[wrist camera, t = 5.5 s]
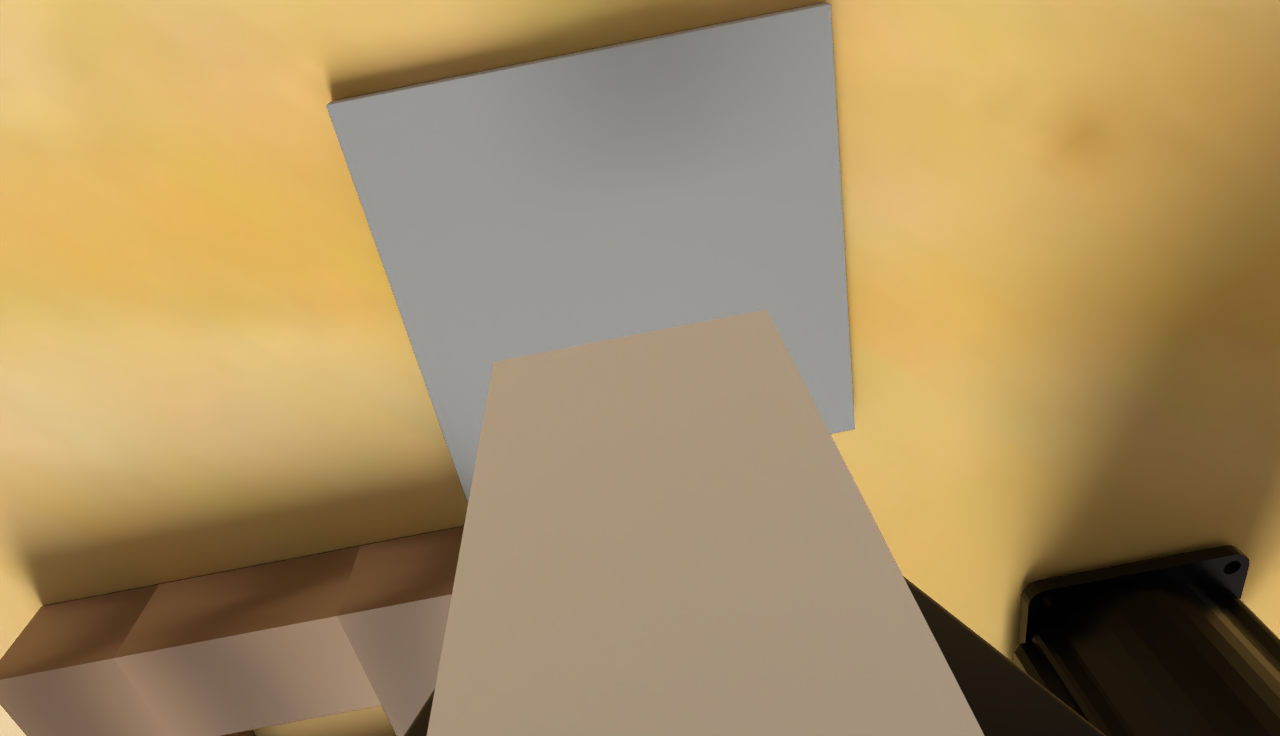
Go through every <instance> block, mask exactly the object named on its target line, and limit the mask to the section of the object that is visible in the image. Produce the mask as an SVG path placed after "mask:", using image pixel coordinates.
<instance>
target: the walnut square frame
mask: <svg viewBox="0 0 1280 736" xmlns="http://www.w3.org/2000/svg"><path fill="white" fill-rule="evenodd" d="M463 530H464V526H462V527H457V528H452V529H447V530H442V531H436V532H431V533H426V534H421V535H415V536H410V537H405V538H400V539H394V540H389V541H384V542H379V543H373V544H368V545H363V546H358V547H352V548H347V549H342V550H337V551H331V552H326V553H321V554H316V555H311V556H305V557H300V558H295V559H290V560H284V561H279V562H274V563H269V564H263V565H258V566H253V567H248V568H242V569H237V570H232V571H227V572H221V573H216V574H211V575H206V576H200V577H195V578H190V579H185V580H179V581H174V582H169V583H164V584H159V585H153V586H148V587H143V588H138V589H132V590H127V591H122V592H117V593H111V594H106V595H101V596H96V597H90V598H85V599H80V600H75V601H69V602H64V603H59V604H54V605H48V606H43V607H41V608H40V609H39V610H38V612H37V613H36V614H35V616H34V617H33V618H32V620H31V621H30V622H29V623H28V625H27V626H26V627H25V629H24V630H23V631H22V633H21V634H20V635H19V636H18V638H17V639H16V640H15V642H14V643H13V644H12V645H11V647H10V648H9V649H8V651H7V652H6V653H5V655H4V656H3V657H2V658H1V660H0V705H1V706H2V707H3V708H4V709H5V711H6V712H7V713H8V714H9V715H10V717H11V718H12V719H13V720H14V721H15V722H16V724H17V725H18V726H19V727H20V728H21V730H22V731H23V732H24V733H25V734H26V735H27V736H255V735H254V734H253V732H252V730H253V729H258V728H264V727H269V726H274V725H280V724H285V723H290V722H296V721H301V720H306V719H312V718H317V717H322V716H328V715H333V714H338V713H344V712H349V711H354V710H360V709H365V708H370V707H376V706H381V705H382V707H383V709H384V711H385V713H386V715H387V717H388V719H389V721H390V723H391V725H392V727H393V729H394V731H395V733H396V735H397V736H404V735H405V733H406V731H407V730H408V728H409V727H410V725H411V724H412V722H413V721H414V719H415V718H416V716H417V715H418V713H419V712H420V710H421V709H422V707H423V705H424V704H425V702H426V701H427V699H428V698H429V696H430V695H431V693H432V692H433V690H434V689H435V686H436V681H437V675H438V669H439V664H440V658H441V653H442V647H443V641H444V636H445V630H446V625H447V619H448V614H449V608H450V602H451V597H452V591H453V586H454V580H455V574H456V569H457V563H458V558H459V552H460V546H461V541H462V535H463Z"/></svg>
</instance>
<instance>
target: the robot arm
mask: <svg viewBox="0 0 1280 736" xmlns="http://www.w3.org/2000/svg"><path fill="white" fill-rule="evenodd" d="M1248 567H1249V559H1248V558H1247V556H1246V555H1244V554H1243V553H1242V552H1241V551H1240V550H1239V549H1238V548H1237V547H1235V546H1232V545H1228V546H1221V547H1215V548H1210V549H1205V550H1199V551H1194V552H1189V553H1183V554H1178V555H1173V556H1167V557H1162V558H1157V559H1151V560H1146V561H1141V562H1135V563H1130V564H1125V565H1119V566H1114V567H1109V568H1103V569H1098V570H1093V571H1087V572H1082V573H1077V574H1071V575H1066V576H1061V577H1055V578H1050V579H1045V580H1039V581H1036V582H1033V583H1032V584H1030V585H1028V586H1027V587H1026V588H1025V590H1024V591H1023V594H1022V599H1021V613H1020V626H1019V640H1018V644H1017V646H1016V648H1015V650H1014V652H1013V661H1010V660H1009V659H1008V658H1007V657H1005V656H1004V655H1003V654H1002V653H1000V652H999V651H998V650H996V649H995V648H994V647H993V646H991V645H990V644H989V643H988V642H986V641H985V640H984V639H982V638H981V637H980V636H979V635H977V634H976V633H975V632H974V631H972V630H971V629H970V628H968V627H967V626H966V625H965V624H963V623H962V622H961V621H960V620H958V619H957V618H956V617H955V616H953V615H952V614H951V613H949V612H948V611H947V610H946V609H944V608H943V607H942V606H941V605H939V604H938V603H937V602H935V601H934V600H933V599H932V598H930V597H929V596H928V595H927V594H925V593H924V592H923V591H921V590H920V589H919V588H918V587H916V586H915V585H914V584H913V583H911V582H910V581H909V580H907V579H906V578H905V577H904V576H903V577H904V579H905V581H906V583H907V585H908V587H909V589H910V591H911V593H912V595H913V597H914V599H915V601H916V603H917V605H918V606H919V608H920V610H921V612H922V614H923V616H924V618H925V620H926V622H927V624H928V626H929V628H930V630H931V632H932V634H933V636H934V638H935V640H936V642H937V644H938V646H939V648H940V650H941V651H942V653H943V655H944V657H945V659H946V661H947V663H948V665H949V667H950V669H951V671H952V673H953V675H954V677H955V679H956V681H957V683H958V685H959V687H960V689H961V691H962V693H963V695H964V697H965V698H966V700H967V702H968V704H969V706H970V708H971V710H972V712H973V714H974V716H975V718H976V720H977V722H978V724H979V726H980V728H981V730H982V732H983V734H984V736H1280V639H1279V638H1278V637H1277V636H1276V635H1275V634H1274V633H1273V632H1272V631H1271V630H1270V629H1269V628H1268V627H1267V626H1266V625H1265V624H1264V623H1263V622H1262V621H1261V620H1260V619H1259V618H1258V617H1257V616H1256V615H1255V614H1254V613H1253V612H1252V611H1251V610H1250V609H1249V608H1248V607H1247V606H1246V605H1245V604H1244V603H1243V602H1242V601H1241V600H1240V599H1241V595H1242V591H1243V587H1244V583H1245V579H1246V575H1247V571H1248ZM434 692H435V689H434V690H433V692H432V693H431V695H430V696H429V698H428V699H427V701H426V702H425V704H424V705H423V707H422V709H421V710H420V712H419V713H418V715H417V716H416V718H415V719H414V721H413V722H412V724H411V725H410V727H409V728H408V730H407V731H406V733H405V735H404V736H427V731H428V725H429V720H430V714H431V709H432V703H433V697H434Z"/></svg>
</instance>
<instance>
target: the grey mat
mask: <svg viewBox="0 0 1280 736" xmlns="http://www.w3.org/2000/svg"><path fill="white" fill-rule="evenodd" d="M326 106H327V109H328V112H329V115H330V118H331V121H332V123H333V126H334V129H335V132H336V135H337V137H338V140H339V143H340V146H341V149H342V151H343V154H344V157H345V160H346V163H347V165H348V168H349V171H350V174H351V177H352V179H353V182H354V185H355V188H356V191H357V194H358V196H359V199H360V202H361V205H362V208H363V210H364V213H365V216H366V219H367V222H368V224H369V227H370V230H371V233H372V236H373V238H374V241H375V244H376V247H377V250H378V252H379V255H380V258H381V261H382V264H383V267H384V269H385V272H386V275H387V278H388V281H389V283H390V286H391V289H392V292H393V295H394V297H395V300H396V303H397V306H398V309H399V311H400V314H401V317H402V320H403V323H404V325H405V328H406V331H407V334H408V337H409V340H410V342H411V345H412V348H413V351H414V354H415V356H416V359H417V362H418V365H419V368H420V370H421V373H422V376H423V379H424V382H425V384H426V387H427V390H428V393H429V396H430V398H431V401H432V404H433V407H434V410H435V413H436V415H437V418H438V421H439V424H440V427H441V429H442V432H443V435H444V438H445V441H446V443H447V446H448V449H449V452H450V455H451V457H452V460H453V463H454V466H455V469H456V471H457V474H458V477H459V480H460V483H461V486H462V488H463V491H464V494H465V497H466V500H467V502H469V496H470V490H471V485H472V479H473V474H474V468H475V463H476V457H477V451H478V446H479V440H480V435H481V429H482V423H483V418H484V412H485V407H486V401H487V395H488V390H489V384H490V379H491V373H492V367H493V362H496V361H501V360H506V359H511V358H516V357H522V356H527V355H532V354H537V353H543V352H548V351H553V350H558V349H563V348H569V347H574V346H579V345H584V344H590V343H595V342H600V341H605V340H610V339H616V338H621V337H626V336H631V335H636V334H642V333H647V332H652V331H657V330H663V329H668V328H673V327H678V326H683V325H689V324H694V323H699V322H704V321H710V320H715V319H720V318H725V317H730V316H736V315H741V314H746V313H751V312H757V311H762V310H767V311H768V313H769V315H770V317H771V319H772V321H773V323H774V325H775V327H776V329H777V331H778V333H779V334H780V336H781V338H782V340H783V342H784V344H785V346H786V348H787V350H788V352H789V354H790V356H791V358H792V360H793V362H794V364H795V366H796V368H797V370H798V372H799V374H800V376H801V378H802V379H803V381H804V383H805V385H806V387H807V389H808V391H809V393H810V395H811V397H812V399H813V401H814V403H815V405H816V407H817V409H818V411H819V413H820V415H821V417H822V419H823V421H824V423H825V424H826V426H827V428H828V430H829V432H830V434H833V433H838V432H843V431H848V430H854V429H855V425H854V407H853V390H852V372H851V354H850V337H849V319H848V301H847V284H846V266H845V249H844V231H843V213H842V196H841V178H840V160H839V143H838V125H837V108H836V90H835V72H834V55H833V37H832V19H831V4H828V3H820V4H815V5H810V6H805V7H800V8H795V9H790V10H785V11H780V12H775V13H770V14H765V15H760V16H755V17H750V18H745V19H740V20H735V21H730V22H725V23H721V24H716V25H711V26H706V27H701V28H696V29H691V30H686V31H681V32H676V33H671V34H666V35H661V36H656V37H651V38H646V39H641V40H636V41H631V42H626V43H621V44H616V45H611V46H606V47H601V48H596V49H591V50H586V51H581V52H576V53H571V54H566V55H561V56H556V57H551V58H546V59H541V60H536V61H531V62H526V63H521V64H516V65H511V66H506V67H501V68H496V69H491V70H486V71H481V72H476V73H471V74H466V75H461V76H456V77H451V78H446V79H441V80H436V81H431V82H426V83H421V84H416V85H411V86H406V87H401V88H396V89H391V90H386V91H381V92H376V93H371V94H366V95H361V96H356V97H351V98H346V99H341V100H336V101H332V102H330V103H329V104H327V105H326Z"/></svg>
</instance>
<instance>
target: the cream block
mask: <svg viewBox="0 0 1280 736" xmlns="http://www.w3.org/2000/svg"><path fill="white" fill-rule="evenodd" d="M427 736H984V734H983V732H982V730H981V728H980V726H979V724H978V722H977V720H976V718H975V716H974V714H973V712H972V710H971V708H970V706H969V704H968V702H967V700H966V698H965V697H964V695H963V693H962V691H961V689H960V687H959V685H958V683H957V681H956V679H955V677H954V675H953V673H952V671H951V669H950V667H949V665H948V663H947V661H946V659H945V657H944V655H943V653H942V651H941V650H940V648H939V646H938V644H937V642H936V640H935V638H934V636H933V634H932V632H931V630H930V628H929V626H928V624H927V622H926V620H925V618H924V616H923V614H922V612H921V610H920V608H919V606H918V605H917V603H916V601H915V599H914V597H913V595H912V593H911V591H910V589H909V587H908V585H907V583H906V581H905V579H904V577H903V575H902V573H901V571H900V569H899V567H898V565H897V563H896V561H895V560H894V558H893V556H892V554H891V552H890V550H889V548H888V546H887V544H886V542H885V540H884V538H883V536H882V534H881V532H880V530H879V528H878V526H877V524H876V522H875V520H874V518H873V516H872V515H871V513H870V511H869V509H868V507H867V505H866V503H865V501H864V499H863V497H862V495H861V493H860V491H859V489H858V487H857V485H856V483H855V481H854V479H853V477H852V475H851V473H850V471H849V470H848V468H847V466H846V464H845V462H844V460H843V458H842V456H841V454H840V452H839V450H838V448H837V446H836V444H835V442H834V440H833V438H832V436H831V434H830V432H829V430H828V428H827V426H826V424H825V423H824V421H823V419H822V417H821V415H820V413H819V411H818V409H817V407H816V405H815V403H814V401H813V399H812V397H811V395H810V393H809V391H808V389H807V387H806V385H805V383H804V381H803V379H802V378H801V376H800V374H799V372H798V370H797V368H796V366H795V364H794V362H793V360H792V358H791V356H790V354H789V352H788V350H787V348H786V346H785V344H784V342H783V340H782V338H781V336H780V334H779V333H778V331H777V329H776V327H775V325H774V323H773V321H772V319H771V317H770V315H769V313H768V311H767V310H762V311H757V312H751V313H746V314H741V315H736V316H730V317H725V318H720V319H715V320H710V321H704V322H699V323H694V324H689V325H683V326H678V327H673V328H668V329H663V330H657V331H652V332H647V333H642V334H636V335H631V336H626V337H621V338H616V339H610V340H605V341H600V342H595V343H590V344H584V345H579V346H574V347H569V348H563V349H558V350H553V351H548V352H543V353H537V354H532V355H527V356H522V357H516V358H511V359H506V360H501V361H496V362H493V367H492V373H491V379H490V384H489V390H488V395H487V401H486V407H485V412H484V418H483V423H482V429H481V435H480V440H479V446H478V451H477V457H476V463H475V468H474V474H473V479H472V485H471V490H470V496H469V502H468V507H467V513H466V518H465V524H464V530H463V535H462V541H461V546H460V552H459V558H458V563H457V569H456V574H455V580H454V586H453V591H452V597H451V602H450V608H449V614H448V619H447V625H446V630H445V636H444V641H443V647H442V653H441V658H440V664H439V669H438V675H437V681H436V686H435V692H434V697H433V703H432V709H431V714H430V720H429V725H428V731H427Z"/></svg>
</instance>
